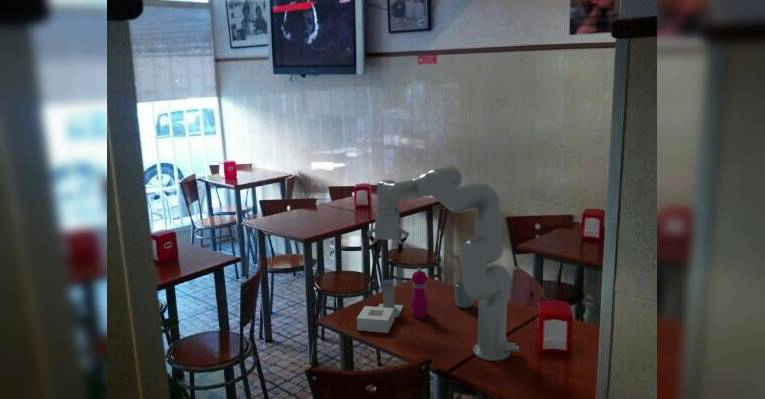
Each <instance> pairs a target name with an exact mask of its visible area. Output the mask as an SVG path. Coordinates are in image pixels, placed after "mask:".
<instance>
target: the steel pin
mask: <svg viewBox="0 0 765 399" xmlns="http://www.w3.org/2000/svg"><path fill="white" fill-rule="evenodd" d="M395 291H396V290H395V280H394V279H384V280H383V282H382V301H383V302H382V304H383V307H385V308H395V305H396V300H395V299H396V297H395V296H396V294H395Z"/></svg>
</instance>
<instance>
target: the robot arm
mask: <svg viewBox="0 0 765 399" xmlns="http://www.w3.org/2000/svg"><path fill="white" fill-rule="evenodd" d="M462 181H463V176H462V173H461V172H460V170H459V169H457V168H455V167H451V166H447V167H441V168H435V169H431V170H429V171H428V172H425V173H421V174H420V175H419V176H418V178H414V179H408V180H401V181H398V182H396V181H395V180H392V179H382V180H379V181H378V182H377V184H376V192H377V193H376V196H377V197H376V198H377V200H376V201H377V214H376V215H375V222H374V227H373V228H372V229H370V230H367V231H366V235H367V237H368V239H369V240H370V241H371V242H372V244H373V251H374V254H378V252H379V242H378V240H390V241H395V240H396V241H397V243H398V245H397V247H398V248H397V249H398V250H397V253H398V255H401V254H402V252H403V251H404V245H403V244H404V242H406V240H408V237H409V236H410V232H408V231H406V230H404V229H402V226H401V219H400V214H399V213H401V208H398V206H397V203H400V202H405V201H411V200H414V199H418V198H422V197H433V198H434V199H435V200H436V201H437V202H439V203H440V204H441V205H443V206H444V207H445V208H446V209H448V210H449V211H451V212H453V213H458V214H459V213H464V212H467V211H471V210H474V209H476V210H477V212H476V215H475V218H474V230H475V237H474V238H473V237H472V238H470V239H469V240H466V241H465V242H464V243H463V244H462V246H461V249H460V256H459V258H460V266H461V267H460V268H461V276H462V277H461V278H462V281H463V285H464V289H465V292H466V294H467V295H468V296H469V297H470V298H471V299H473V300H474V301H475V302H476V301H477V302H478V311H477V312H478V315H477V317H478V318H477V319H478V322H477V344H475V345H474V346H473V348H472V349H473V354H474V355H475V357H477V358H480V359H482V360H484V361H490V362H491V361H492V362H496V361H503V360H506V359H508V358H509V357H510V356H511V352H516V353H518V352H520V345H516V343H515V342H514V343H513V342H508V338H507V314H508V312H507V310H508V296H509V291H510V287H511V275H510V273H509V271H508V269H507V268H506V267H505V266H503V265H500V264H497V263H496V264H492V263H493V262H497V261H498V260H500V259H501V258H502V257H503V254H504V246H503V235H502V226H501V215H500V214H501V206H500V199H499V196H498V194H497V192H496V190H494V188H493V187H492V186H490V185H489V184H487V183H482V182H476V183H475V182H474V183H469V184H464V185H461V184H462ZM373 233H374V236H373ZM402 235H404V237H403V238H402ZM489 264H490V265H489ZM486 265H487V266H486Z"/></svg>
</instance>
